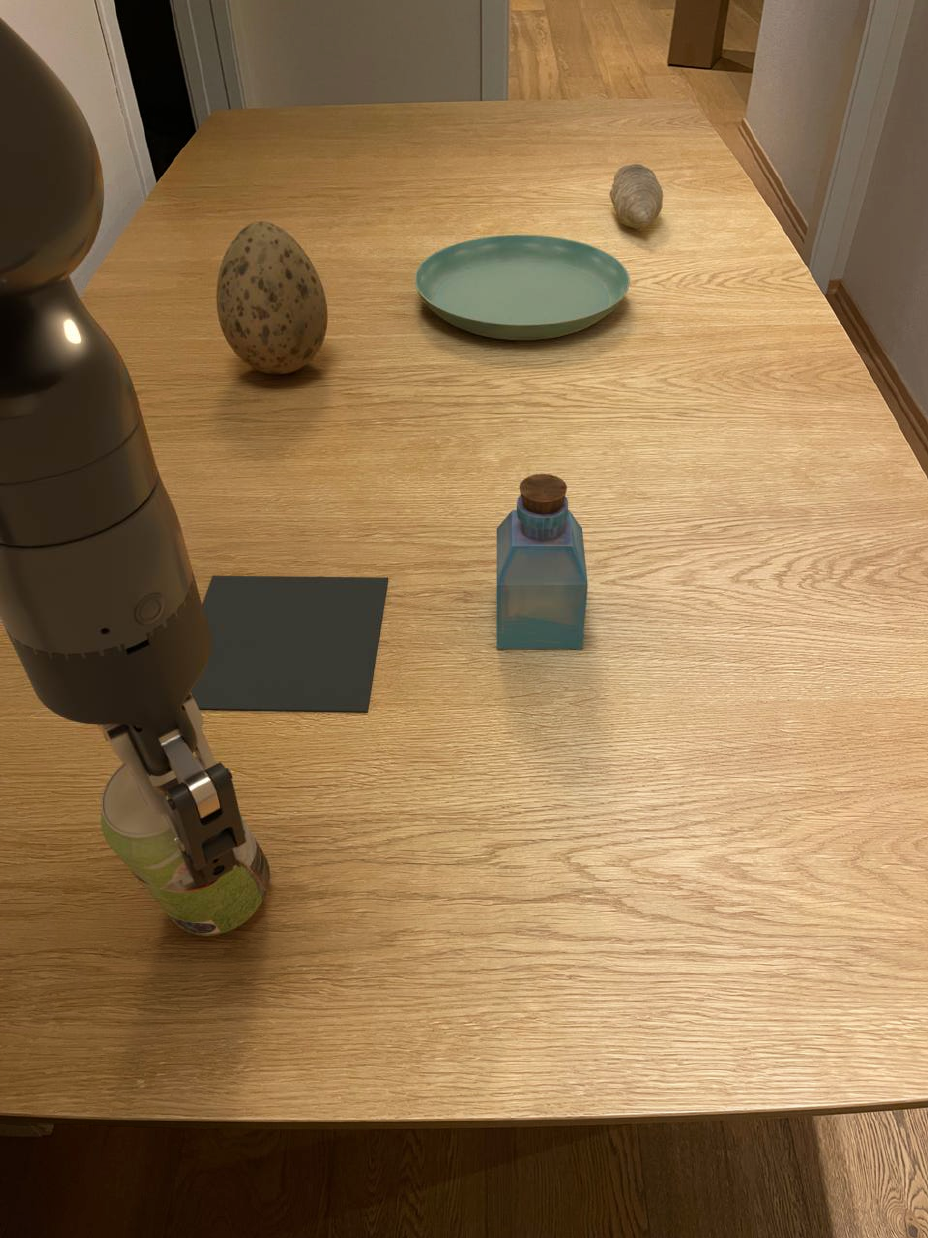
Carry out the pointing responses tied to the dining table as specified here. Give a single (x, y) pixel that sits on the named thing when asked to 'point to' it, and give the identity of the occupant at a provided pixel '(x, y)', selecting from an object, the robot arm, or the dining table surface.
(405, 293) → the dining table surface
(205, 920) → the beverage can
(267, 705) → the mat
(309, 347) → the decorative egg
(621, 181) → the seashell
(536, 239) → the saucer
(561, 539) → the perfume bottle
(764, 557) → the dining table surface
